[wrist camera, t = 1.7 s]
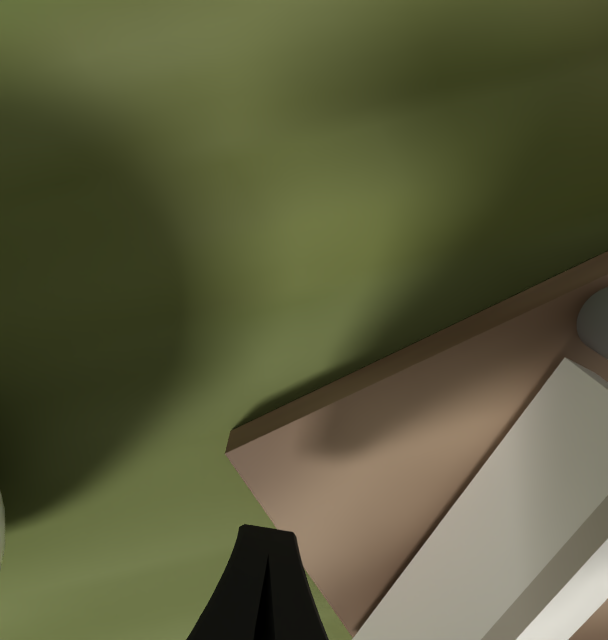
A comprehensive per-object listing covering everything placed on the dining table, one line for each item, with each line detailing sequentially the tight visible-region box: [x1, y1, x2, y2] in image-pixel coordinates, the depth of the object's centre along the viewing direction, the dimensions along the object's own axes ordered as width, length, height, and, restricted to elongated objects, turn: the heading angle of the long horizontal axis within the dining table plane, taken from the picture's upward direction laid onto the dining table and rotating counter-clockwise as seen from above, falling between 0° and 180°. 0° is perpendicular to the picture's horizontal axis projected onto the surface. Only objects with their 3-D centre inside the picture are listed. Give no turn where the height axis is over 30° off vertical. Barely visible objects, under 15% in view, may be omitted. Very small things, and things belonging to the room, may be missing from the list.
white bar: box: [352, 287, 608, 640], centre depth 12 cm, size 14×2×4 cm, turn 153°
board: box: [225, 251, 608, 640], centre depth 14 cm, size 15×15×5 cm
